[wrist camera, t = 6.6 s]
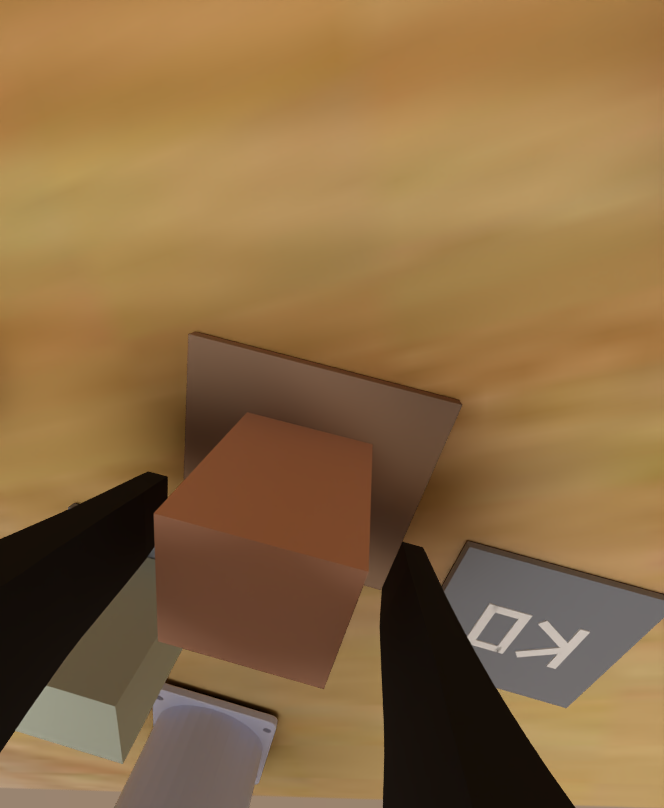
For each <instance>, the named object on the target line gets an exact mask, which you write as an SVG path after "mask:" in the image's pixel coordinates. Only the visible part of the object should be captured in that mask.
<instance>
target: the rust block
mask: <svg viewBox="0 0 664 808" xmlns="http://www.w3.org/2000/svg"><path fill="white" fill-rule="evenodd" d="M372 448H373V444H370V443H366V442H362V441H358V440H354V439H350V438H346V437H342V436H338V435H334V434H330V433H327V432H323V431H319V430H315V429H311V428H307V427H303V426H299V425H295V424H291V423H287V422H283V421H280V420H276V419H272V418H268V417H264V416H260V415H256V414H252V413H248V412H247V413H246V414H245V415H244V416H243V417H242V418H241V419H240V420H239V421H238V423H237V424H236V425H235V426H234V427H233V428H232V429H231V430H230V431H229V432H228V433H227V434H226V436H225V437H224V438H223V439H222V440H221V441H220V442H219V443H218V444H217V445H216V446H215V447H214V449H213V450H212V451H211V452H210V453H209V454H208V455H207V456H206V457H205V458H204V459H203V460H202V462H201V463H200V464H199V465H198V466H197V467H196V468H195V469H194V470H193V471H192V472H191V473H190V475H189V476H188V477H187V478H186V479H185V480H184V481H183V482H182V483H181V484H180V485H179V486H178V488H177V489H176V490H175V491H174V492H173V493H172V494H171V495H170V496H169V497H168V498H167V499H166V500H165V502H164V503H163V504H162V505H161V506H160V507H159V508H158V509H157V510H156V511H155V512H154V541H155V570H156V600H157V629H158V641H159V642H162V643H166V644H169V645H173V646H176V647H179V648H183V649H186V650H190V651H193V652H197V653H200V654H204V655H207V656H211V657H214V658H218V659H221V660H225V661H228V662H232V663H235V664H239V665H242V666H245V667H249V668H252V669H256V670H259V671H263V672H266V673H270V674H273V675H277V676H280V677H284V678H287V679H291V680H294V681H298V682H301V683H304V684H308V685H311V686H315V687H318V688H322V689H324V688H325V685H326V682H327V680H328V677H329V674H330V672H331V669H332V667H333V664H334V661H335V659H336V656H337V653H338V651H339V648H340V646H341V643H342V640H343V638H344V635H345V633H346V630H347V627H348V625H349V622H350V619H351V617H352V614H353V612H354V609H355V606H356V604H357V601H358V598H359V596H360V593H361V591H362V588H363V585H364V583H365V580H366V577H367V575H368V572H369V544H370V512H371V480H372Z"/></svg>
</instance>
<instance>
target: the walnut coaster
mask: <svg viewBox="0 0 664 808" xmlns="http://www.w3.org/2000/svg"><path fill="white" fill-rule="evenodd" d="M461 407H462V404H461V402H460V401H459V400H456V399H452V398H449V397H445V396H441V395H437V394H433V393H429V392H425V391H422V390H418V389H414V388H410V387H406V386H402V385H398V384H395V383H391V382H387V381H383V380H379V379H375V378H372V377H368V376H364V375H360V374H356V373H352V372H348V371H345V370H341V369H337V368H333V367H329V366H325V365H321V364H318V363H314V362H310V361H306V360H302V359H298V358H295V357H291V356H287V355H283V354H279V353H275V352H271V351H268V350H264V349H260V348H256V347H252V346H248V345H244V344H241V343H237V342H233V341H229V340H225V339H221V338H218V337H214V336H210V335H206V334H202V333H198V332H193V333H190V334H188V365H187V396H186V426H185V457H184V480H185V479H186V478H187V477H188V476H189V475H190V473H191V472H192V471H193V470H194V469H195V468H196V467H197V466H198V465H199V464H200V463H201V462H202V460H203V459H204V458H205V457H206V456H207V455H208V454H209V453H210V452H211V451H212V450H213V449H214V447H215V446H216V445H217V444H218V443H219V442H220V441H221V440H222V439H223V438H224V437H225V436H226V434H227V433H228V432H229V431H230V430H231V429H232V428H233V427H234V426H235V425H236V424H237V423H238V421H239V420H240V419H241V418H242V417H243V416H244V415H245V414H246V413H247V412H248V413H252V414H256V415H260V416H264V417H268V418H272V419H276V420H280V421H283V422H287V423H291V424H295V425H299V426H303V427H307V428H311V429H315V430H319V431H323V432H327V433H330V434H334V435H338V436H342V437H346V438H350V439H354V440H358V441H362V442H366V443H370V444H373V448H372V480H371V512H370V544H369V572H368V575H367V577H366V580H365V583H364V585H365V586H368V587H372V588H376V589H379V590H381V588H382V586H383V584H384V581H385V579H386V577H387V575H388V572H389V570H390V568H391V566H392V563H393V561H394V559H395V557H396V554H397V552H398V550H399V547H400V545H401V543H402V541H403V538H404V536H405V534H406V532H407V529H408V527H409V525H410V522H411V520H412V518H413V516H414V513H415V511H416V509H417V507H418V504H419V502H420V500H421V498H422V495H423V493H424V491H425V488H426V486H427V484H428V482H429V479H430V477H431V475H432V473H433V470H434V468H435V466H436V463H437V461H438V459H439V457H440V454H441V452H442V450H443V448H444V445H445V443H446V441H447V439H448V436H449V434H450V432H451V429H452V427H453V425H454V423H455V420H456V418H457V416H458V414H459V411H460V409H461Z"/></svg>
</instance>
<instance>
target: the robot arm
mask: <svg viewBox="0 0 664 808" xmlns="http://www.w3.org/2000/svg"><path fill="white" fill-rule="evenodd" d="M167 491H168V477H167V476H163V475H159V474H156V473H152V472H146V473H144V474H142V475H139V476H137V477H135V478H133V479H131V480H129V481H127V482H125V483H123V484H121V485H119V486H116V487H114V488H112V489H110V490H108V491H106V492H104V493H102V494H100V495H98V496H96V497H94V498H91V499H89V500H87V501H85V502H83V503H81V504H79V505H77V506H74V507H72V508H70V509H68V510H66V511H64V512H62V513H59V514H57V515H55V516H53V517H50V518H48V519H46V520H43V521H41V522H39V523H36V524H34V525H32V526H30V527H27V528H25V529H23V530H20V531H18V532H16V533H13V534H11V535H9V536H7V537H4V538H2V539H0V752H1V751H2V749H3V748H4V746H5V745H6V743H7V742H8V740H9V739H10V737H11V736H12V735H13V733H14V732H15V730H16V729H17V727H18V726H19V724H20V723H21V721H22V720H23V718H24V717H25V715H26V714H27V713H28V711H29V710H30V708H31V707H32V705H33V704H34V702H35V701H36V700H37V698H38V697H39V695H40V694H41V692H42V691H43V690H44V688H45V687H46V685H47V684H48V683H49V681H50V680H51V678H52V677H53V676H54V674H55V673H56V671H57V670H58V668H59V667H60V666H61V664H62V663H63V661H64V660H65V659H66V657H67V656H68V655H69V653H70V652H71V651H72V650H73V648H74V647H75V646H76V644H77V643H78V642H79V640H80V639H81V638H82V637H83V636H84V634H85V633H86V632H87V631H88V629H89V628H90V627H91V626H92V625H93V623H94V622H95V621H96V620H97V619H98V617H99V616H100V615H101V614H102V613H103V611H104V610H105V609H106V608H107V606H108V605H109V604H110V603H111V602H112V600H113V599H114V598H115V597H116V596H117V594H118V593H119V592H120V591H121V590H122V588H123V587H124V586H125V585H126V583H127V582H128V581H129V580H130V579H131V577H132V576H133V575H134V574H135V572H136V571H137V570H138V569H139V567H140V566H141V565H142V564H143V562H144V561H145V560H146V559H147V557H148V556H149V554H150V553H151V551H152V550H153V548H154V547H155V541H154V512H155V511H156V510H157V509H158V508H159V507H160V506H161V505H162V504H163V503H164V502H165V500H166V499H167ZM380 647H381V671H382V693H383V716H384V786H383V808H575V806H574V805H573V804H572V802H571V801H570V799H569V798H568V797H567V795H566V794H565V792H564V791H563V790H562V788H561V787H560V785H559V784H558V783H557V781H556V780H555V778H554V777H553V776H552V774H551V773H550V771H549V770H548V768H547V767H546V765H545V764H544V762H543V761H542V759H541V758H540V756H539V755H538V753H537V752H536V750H535V749H534V747H533V746H532V744H531V743H530V741H529V740H528V738H527V737H526V735H525V734H524V732H523V730H522V729H521V727H520V726H519V724H518V723H517V721H516V719H515V718H514V716H513V715H512V713H511V712H510V710H509V708H508V707H507V705H506V703H505V702H504V700H503V699H502V697H501V695H500V694H499V692H498V690H497V689H496V687H495V685H494V684H493V682H492V680H491V678H490V677H489V675H488V673H487V671H486V670H485V668H484V666H483V664H482V663H481V661H480V659H479V657H478V656H477V654H476V652H475V650H474V648H473V647H472V645H471V643H470V641H469V639H468V637H467V635H466V634H465V632H464V630H463V628H462V626H461V624H460V622H459V620H458V618H457V616H456V614H455V613H454V611H453V609H452V607H451V605H450V603H449V601H448V599H447V597H446V595H445V593H444V590H443V588H442V586H441V584H440V582H439V580H438V578H437V576H436V574H435V572H434V570H433V567H432V565H431V563H430V561H429V559H428V557H427V555H426V553H425V551H424V549H423V547H420V546H416V545H412V544H409V543H405V542H402V543H401V546H400V548H399V550H398V552H397V555H396V557H395V559H394V561H393V564H392V566H391V568H390V570H389V573H388V575H387V577H386V580H385V582H384V584H383V586H382V596H381V611H380ZM277 722H278V720H277V718H276V717H275V716H273V715H270V714H267V713H264V712H260V711H257V710H254V709H250V708H247V707H244V706H240V705H237V704H233V703H230V702H227V701H223V700H220V699H217V698H213V697H210V696H207V695H203V694H200V693H197V692H193V691H190V690H187V689H183V688H180V687H177V686H173V685H170V684H167V683H164V685H163V687H162V689H161V691H160V693H159V695H158V697H157V699H156V701H155V703H154V705H153V729H152V731H151V733H150V735H149V737H148V739H147V742H146V744H145V746H144V748H143V750H142V752H141V754H140V756H139V758H138V760H137V762H136V764H135V766H134V768H133V770H132V772H131V774H130V776H129V778H128V780H127V782H126V784H125V786H124V788H123V790H122V792H121V795H120V796H119V799H118V801H117V803H116V805H115V807H114V808H249V805H250V801H251V797H252V793H253V789H254V785H255V784H258V783H259V781H260V778H261V775H262V771H263V768H264V765H265V762H266V759H267V756H268V752H269V749H270V746H271V743H272V740H273V737H274V734H275V730H276V727H277Z"/></svg>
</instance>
